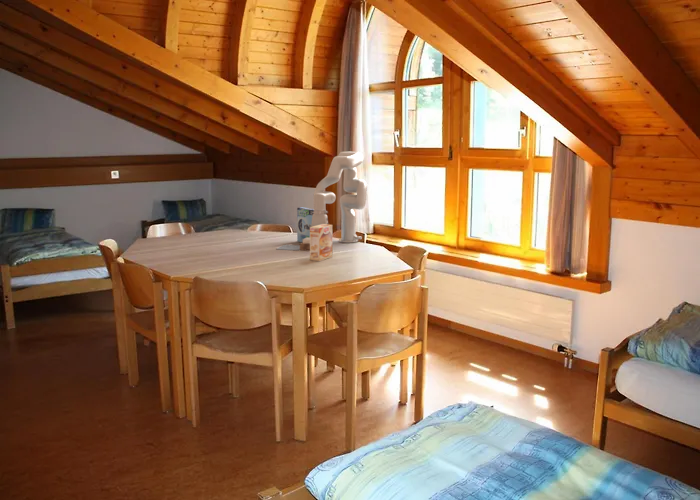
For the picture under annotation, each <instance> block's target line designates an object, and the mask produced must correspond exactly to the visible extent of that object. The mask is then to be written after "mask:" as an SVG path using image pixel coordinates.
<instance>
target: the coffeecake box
mask: <svg viewBox="0 0 700 500" xmlns="http://www.w3.org/2000/svg"><path fill="white" fill-rule="evenodd" d="M330 258H333V224H330V223H328V224H321V225H317V226H313V227H310V251H309V260H310V261H315V262H321V261H325V260H328V259H330Z"/></svg>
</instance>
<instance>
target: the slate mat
mask: <svg viewBox="0 0 700 500" xmlns="http://www.w3.org/2000/svg"><path fill="white" fill-rule="evenodd" d="M276 250H280V251H281V250H282V251H301V250H300V244H299V245H298V244H283V245H282V246H281V245H280V246H279V247H277V248H276Z"/></svg>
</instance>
